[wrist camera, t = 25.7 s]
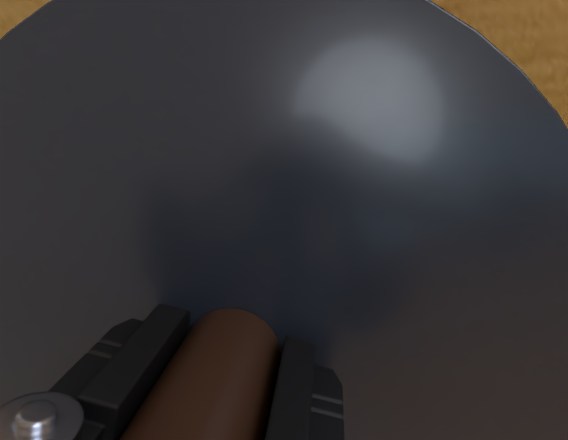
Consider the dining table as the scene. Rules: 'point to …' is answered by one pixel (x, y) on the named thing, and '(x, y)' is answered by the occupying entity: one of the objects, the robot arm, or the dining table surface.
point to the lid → (287, 212)
